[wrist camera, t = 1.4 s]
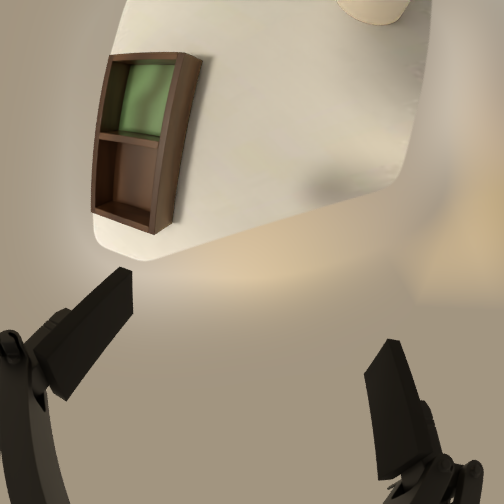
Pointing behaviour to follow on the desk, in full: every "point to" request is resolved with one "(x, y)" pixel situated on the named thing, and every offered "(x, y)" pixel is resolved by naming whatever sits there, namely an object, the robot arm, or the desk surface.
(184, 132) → the holder
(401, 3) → the cup
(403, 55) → the desk surface
